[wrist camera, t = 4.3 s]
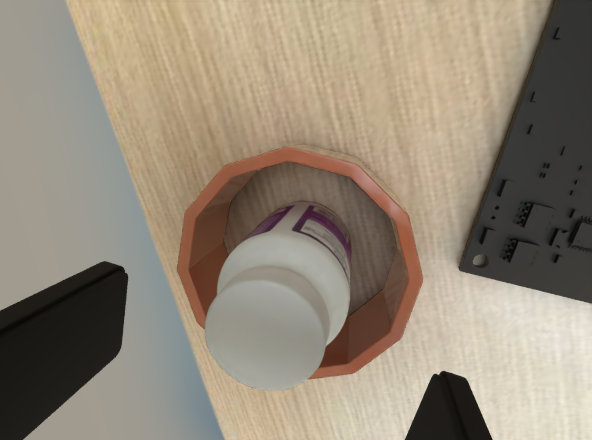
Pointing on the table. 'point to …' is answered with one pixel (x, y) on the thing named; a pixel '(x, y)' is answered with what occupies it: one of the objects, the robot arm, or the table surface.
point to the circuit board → (545, 171)
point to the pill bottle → (281, 298)
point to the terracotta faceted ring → (357, 328)
